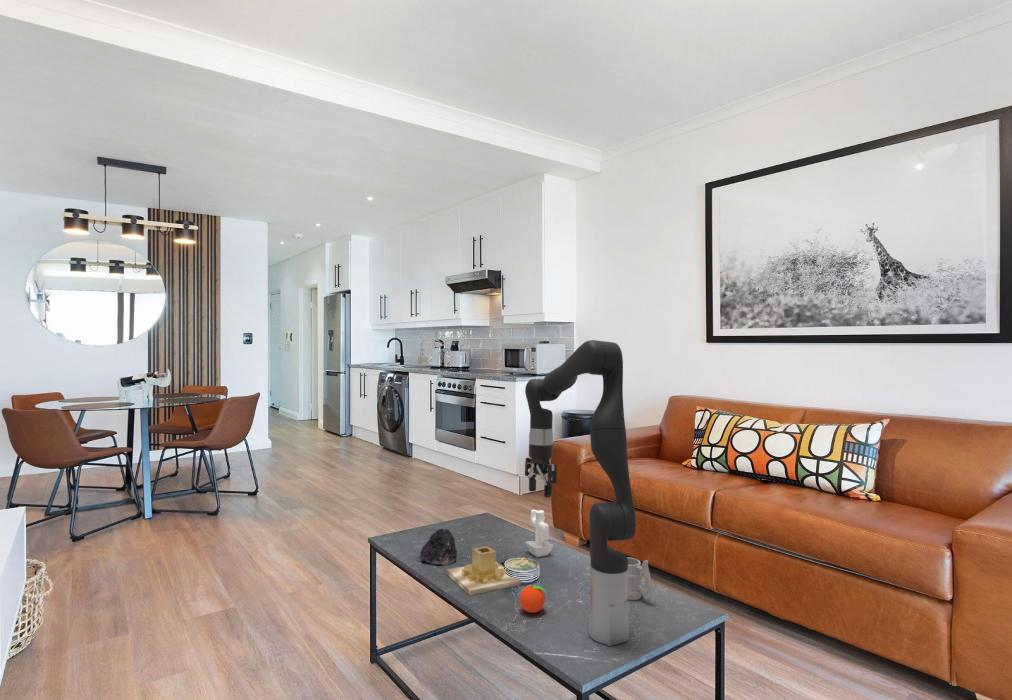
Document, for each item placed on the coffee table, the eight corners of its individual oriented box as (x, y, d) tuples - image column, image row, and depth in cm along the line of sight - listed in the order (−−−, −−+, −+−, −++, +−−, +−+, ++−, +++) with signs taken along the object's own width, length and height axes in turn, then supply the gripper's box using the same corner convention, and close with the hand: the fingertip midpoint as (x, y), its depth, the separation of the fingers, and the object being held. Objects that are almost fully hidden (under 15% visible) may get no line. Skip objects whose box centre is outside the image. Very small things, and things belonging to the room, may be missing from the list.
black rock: (432, 572, 182) (436, 541, 182) (410, 555, 192) (414, 526, 192) (465, 565, 191) (469, 536, 191) (442, 550, 201) (446, 522, 201)
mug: (627, 587, 172) (628, 547, 172) (659, 601, 163) (660, 559, 163) (610, 593, 168) (611, 552, 168) (641, 608, 158) (642, 565, 158)
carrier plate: (520, 584, 172) (521, 558, 172) (469, 595, 164) (470, 568, 164) (494, 565, 187) (495, 541, 187) (446, 574, 179) (447, 548, 179)
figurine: (537, 560, 192) (538, 515, 192) (522, 551, 200) (524, 508, 200) (555, 556, 195) (556, 513, 195) (540, 548, 204) (541, 506, 204)
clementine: (549, 607, 158) (550, 581, 157) (547, 619, 151) (548, 592, 151) (521, 604, 159) (521, 579, 159) (517, 616, 152) (518, 589, 152)
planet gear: (509, 578, 173) (510, 553, 173) (474, 585, 167) (474, 559, 167) (491, 564, 183) (492, 541, 183) (458, 570, 178) (458, 546, 178)
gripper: (564, 445, 175) (562, 497, 175) (538, 438, 188) (537, 487, 188) (543, 446, 172) (542, 500, 172) (518, 439, 184) (517, 490, 184)
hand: (539, 493), depth 180 cm, fingers open, 8 cm apart
